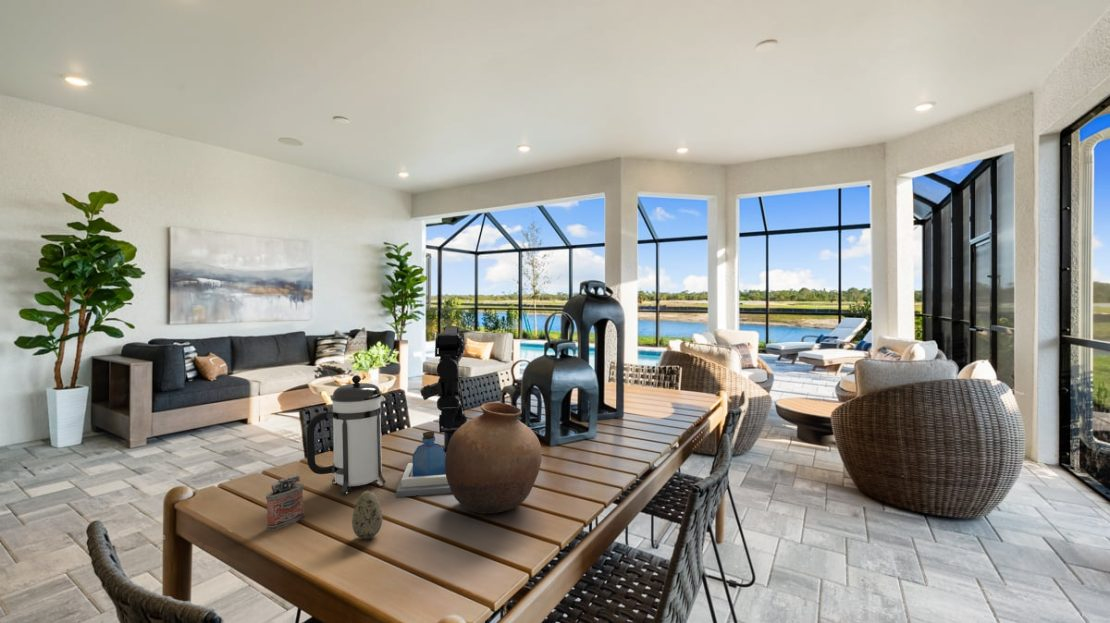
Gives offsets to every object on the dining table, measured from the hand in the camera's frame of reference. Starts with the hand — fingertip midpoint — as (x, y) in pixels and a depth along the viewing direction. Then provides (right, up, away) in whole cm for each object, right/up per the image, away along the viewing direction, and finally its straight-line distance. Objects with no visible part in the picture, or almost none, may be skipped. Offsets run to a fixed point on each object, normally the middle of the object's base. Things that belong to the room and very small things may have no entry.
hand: (450, 424), depth 148 cm
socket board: (-3, -12, -14) cm, 19 cm away
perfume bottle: (-3, -11, -14) cm, 18 cm away
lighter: (-29, -14, -38) cm, 50 cm away
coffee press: (-22, -13, -17) cm, 31 cm away
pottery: (+17, -13, -31) cm, 38 cm away
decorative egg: (-8, -13, -46) cm, 48 cm away
